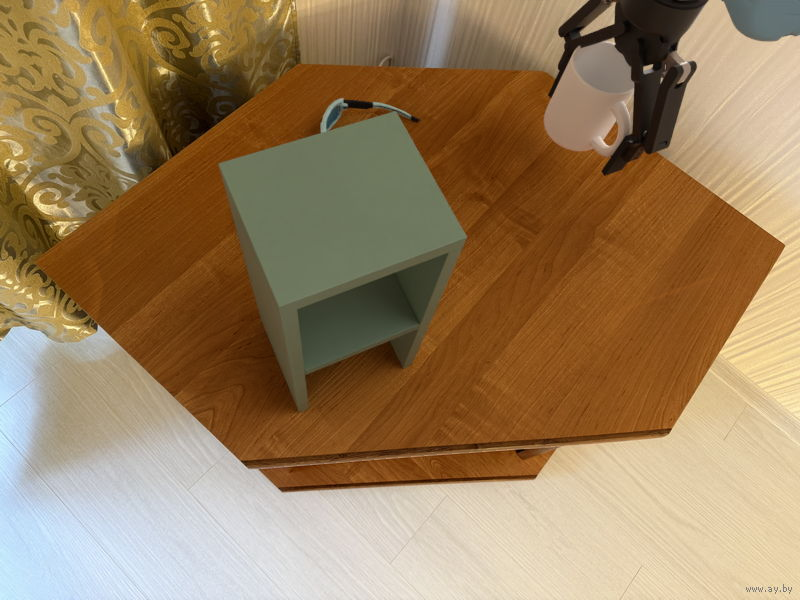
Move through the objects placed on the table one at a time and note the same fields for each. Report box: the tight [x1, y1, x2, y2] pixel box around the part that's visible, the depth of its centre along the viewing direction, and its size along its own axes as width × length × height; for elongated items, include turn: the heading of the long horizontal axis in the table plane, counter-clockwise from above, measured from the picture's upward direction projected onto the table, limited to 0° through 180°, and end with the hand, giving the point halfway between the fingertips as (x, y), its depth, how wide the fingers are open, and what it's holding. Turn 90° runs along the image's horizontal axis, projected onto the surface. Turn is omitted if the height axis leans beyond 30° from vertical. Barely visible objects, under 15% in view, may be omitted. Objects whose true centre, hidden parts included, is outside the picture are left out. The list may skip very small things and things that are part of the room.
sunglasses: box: [319, 97, 421, 133], centre depth 79 cm, size 14×15×5 cm
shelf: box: [218, 111, 468, 413], centre depth 56 cm, size 12×14×30 cm
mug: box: [543, 40, 634, 158], centre depth 71 cm, size 12×8×10 cm
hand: (584, 131), depth 74 cm, fingers closed on mug, 12 cm apart
